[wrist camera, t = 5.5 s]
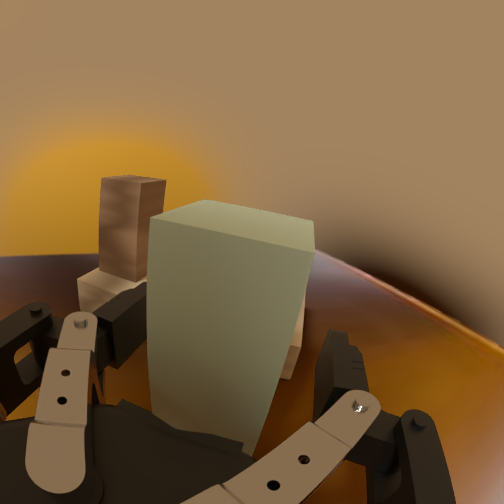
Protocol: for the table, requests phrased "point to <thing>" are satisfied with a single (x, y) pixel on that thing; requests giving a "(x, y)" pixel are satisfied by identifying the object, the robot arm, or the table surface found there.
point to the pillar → (222, 313)
